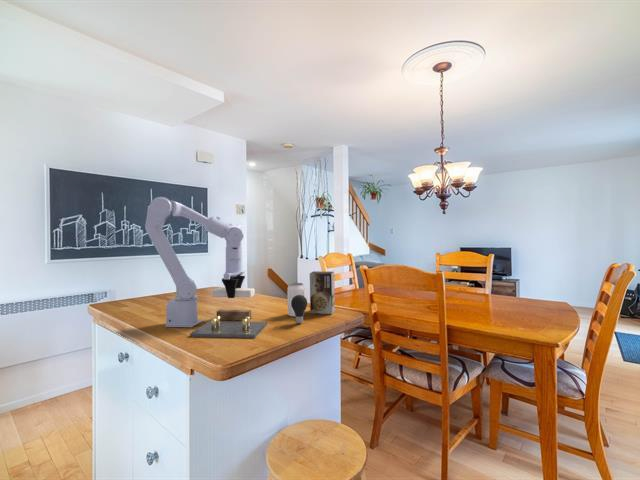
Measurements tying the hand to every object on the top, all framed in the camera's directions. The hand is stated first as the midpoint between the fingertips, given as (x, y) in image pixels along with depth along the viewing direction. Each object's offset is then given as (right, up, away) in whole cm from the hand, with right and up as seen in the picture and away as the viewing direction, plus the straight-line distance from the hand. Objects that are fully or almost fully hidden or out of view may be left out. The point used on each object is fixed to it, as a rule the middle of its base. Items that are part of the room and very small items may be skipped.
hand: (233, 296), depth 112 cm
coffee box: (+33, -8, +10) cm, 35 cm away
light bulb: (+25, -8, -7) cm, 27 cm away
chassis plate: (+3, -8, -14) cm, 17 cm away
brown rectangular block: (0, -8, 0) cm, 8 cm away
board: (0, 0, 0) cm, 0 cm away
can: (+22, -8, +5) cm, 25 cm away
